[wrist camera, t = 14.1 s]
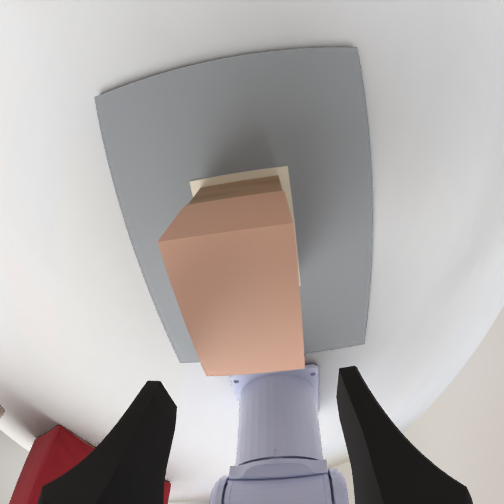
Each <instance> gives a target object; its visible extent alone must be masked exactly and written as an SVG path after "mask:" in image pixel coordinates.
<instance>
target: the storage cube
mask: <svg viewBox="0 0 504 504" xmlns="http://www.w3.org/2000/svg"><path fill="white" fill-rule="evenodd" d="M94 449H95V447H93V446H92V445H90V444H88V443H87V442H85V441H84V440H82V439H81V438H79V437H78V436H76V435H75V434H73V433H72V432H70V431H69V430H67V429H66V428H64V427H63V426H61V425H58V426H56V427H55V428H53V429H52V430H50V431H49V432H47V433H45V434H44V435H42V436H40V437H38V438H37V439H35V441H34V443H33V445H32V448H31V450H30V452H29V455H28V457H27V459H26V462H25V464H24V467H23V469H22V472H21V474H20V477H19V479H18V481H17V484H16V487H15V489H14V492H13V495H12V497H11V500H10V503H9V504H37V502H38V499H39V496H40V493H41V490H42V487H43V486H44V485H46V484H48V483H50V482H51V481H53V480H55V479H57V478H58V477H60V476H62V475H63V474H65V473H66V472H67V471H69V470H70V469H72V468H73V467H74V466H76V465H77V464H78V463H79V462H81V461H82V460H83V459H84V458H85V457H86V456H88V455H89V454H90V453H91V452H92V451H93V450H94ZM170 487H171V484H170V483H169V482H167V481H165V484H164V504H168V498H169V493H170Z"/></svg>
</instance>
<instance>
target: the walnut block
mask: <svg viewBox="0 0 504 504" xmlns="http://www.w3.org/2000/svg"><path fill="white" fill-rule="evenodd" d="M276 191H283V190H282V187H281V183H280V180H279V176H278V175H277V176H269V177H262V178H255V179H249V180H242V181H236V182H230V183H224V184H218V185H212V186H206V187H201V188H200V189H199V190H198V192H197V193H196V194H195V196H194V197H193V198H192V200H191V201H190V202H189V204H188V205H190V204H196V203H202V202H208V201H214V200H220V199H227V198H233V197H240V196H247V195H254V194H261V193H268V192H276Z"/></svg>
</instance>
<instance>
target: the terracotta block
mask: <svg viewBox="0 0 504 504" xmlns="http://www.w3.org/2000/svg"><path fill="white" fill-rule="evenodd" d="M158 246H159V249H160V252H161V255H162V258H163V262H164V265H165V268H166V271H167V274H168V277H169V280H170V283H171V286H172V289H173V291H174V294H175V297H176V300H177V303H178V305H179V308H180V311H181V314H182V316H183V319H184V322H185V324H186V327H187V330H188V332H189V335H190V337H191V340H192V343H193V345H194V348H195V350H196V353H197V355H198V358H199V360H200V362H201V365H202V367H203V370H204V372H205V374H206V376H225V375H243V374H257V373H269V372H279V371H288V370H297V369H305V358H304V342H303V326H302V312H301V299H300V287H299V275H298V264H297V254H296V244H295V234H294V225H293V220H292V217H291V213H290V209H289V206H288V202H287V199H286V195H285V192H284V191H276V192H268V193H261V194H254V195H247V196H240V197H233V198H227V199H220V200H214V201H208V202H202V203H196V204H190V205H185V206H184V207H183V208H182V209H181V211H180V212H179V213H178V215H177V216H176V217H175V219H174V220H173V221H172V223H171V224H170V225H169V227H168V228H167V230H166V231H165V232H164V234H163V235H162V236H161V238H160V239H159V241H158Z"/></svg>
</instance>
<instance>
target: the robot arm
mask: <svg viewBox="0 0 504 504" xmlns="http://www.w3.org/2000/svg"><path fill="white" fill-rule="evenodd" d="M230 380H231V383H232V385H233V388H234V391H235V394H236V397H237V399H238V402H239V405H240V412H239V427H238V441H237V456H236V466H230V473H229V476H222V477H221V478H220V479H219V481H217V482H216V483H215V485H214V487H213V489H212V492H211V496H210V504H349V503H348V493H347V488H346V482H345V479H344V476H343V474H342V473H341V472H339V471H337V469H336V468H332V469H328V470H327V461H326V459H324V460H323V453H322V444H321V436H320V428H319V421H318V387H319V369H318V366H317V365H315V364H311V365H305V369H297V370H288V371H279V372H269V373H257V374H243V375H230ZM336 397H337V404H338V411H339V418H340V422H341V426H342V430H343V434H344V438H345V442H346V446H347V450H348V454H349V458H350V463H351V468H352V475H353V484H354V494H355V504H473V502H472V498H471V496H470V494H469V491H468V489H467V487H466V486H464V485H463V484H461V483H459V482H458V481H456V480H455V479H453V478H452V477H450V476H449V475H447V474H446V473H445V472H443V471H442V470H441V469H439V468H438V467H437V466H435V465H434V464H433V463H432V462H431V461H430V460H429V459H427V458H426V457H425V456H424V455H423V454H422V453H421V452H420V451H418V450H417V449H416V448H415V447H414V446H413V445H412V444H411V443H410V441H408V439H407V438H406V437H405V436H404V435H403V434H402V433H401V432H400V430H399V429H398V428H397V427H396V426H395V424H394V423H393V422H392V421H391V419H390V418H389V417H388V416H387V414H386V413H385V412H384V410H383V409H382V407H381V406H380V405H379V403H378V402H377V400H376V399H375V397H374V396H373V394H372V393H371V391H370V390H369V388H368V386H367V385H366V383H365V381H364V380H363V378H362V376H361V374H360V373H359V371H358V369H357V367H355V366H351V367H345V368H340V369H339V376H338V386H337V396H336ZM176 412H177V406H176V405H175V403H174V402H173V400H172V399H171V397H170V396H169V394H168V392H167V391H166V389H165V388H164V386H163V385H162V383H161V381H147V382H146V384H145V385H144V387H143V388H142V389H141V391H140V392H139V394H138V395H137V397H136V398H135V399H134V401H133V402H132V404H131V405H130V406H129V408H128V409H127V411H126V412H125V413H124V415H123V416H122V417H121V419H120V420H119V421H118V423H117V424H116V425H115V426H114V428H113V429H112V430H111V431H110V432H109V434H108V435H107V436H106V437H105V438H104V439H103V441H102V442H101V443H100V444H99V445H98V446H97V447H96V448H95V449H94V450H93V451H92V452H91V453H90V454H89V455H88V456H86V457H85V458H84V459H83V460H82V461H81V462H79V463H78V464H77V465H76V466H74V467H73V468H72V469H70V470H69V471H67V472H66V473H65V474H63V475H62V476H60V477H58V478H57V479H55V480H53V481H51V482H50V483H48V484H46V485H44V486H43V487H42V490H41V493H40V496H39V499H38V502H37V504H164V484H165V474H166V468H167V463H168V458H169V454H170V449H171V445H172V440H173V435H174V431H175V424H176Z"/></svg>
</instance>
